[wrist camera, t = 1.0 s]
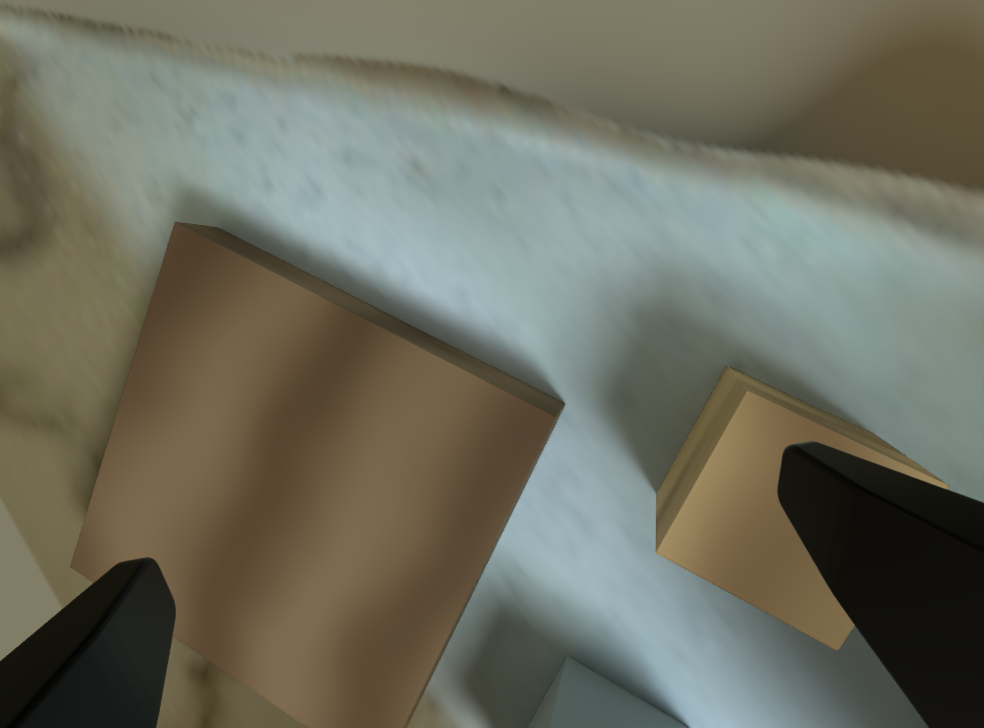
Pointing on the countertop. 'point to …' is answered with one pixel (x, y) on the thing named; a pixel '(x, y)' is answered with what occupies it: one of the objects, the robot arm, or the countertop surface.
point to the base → (307, 480)
